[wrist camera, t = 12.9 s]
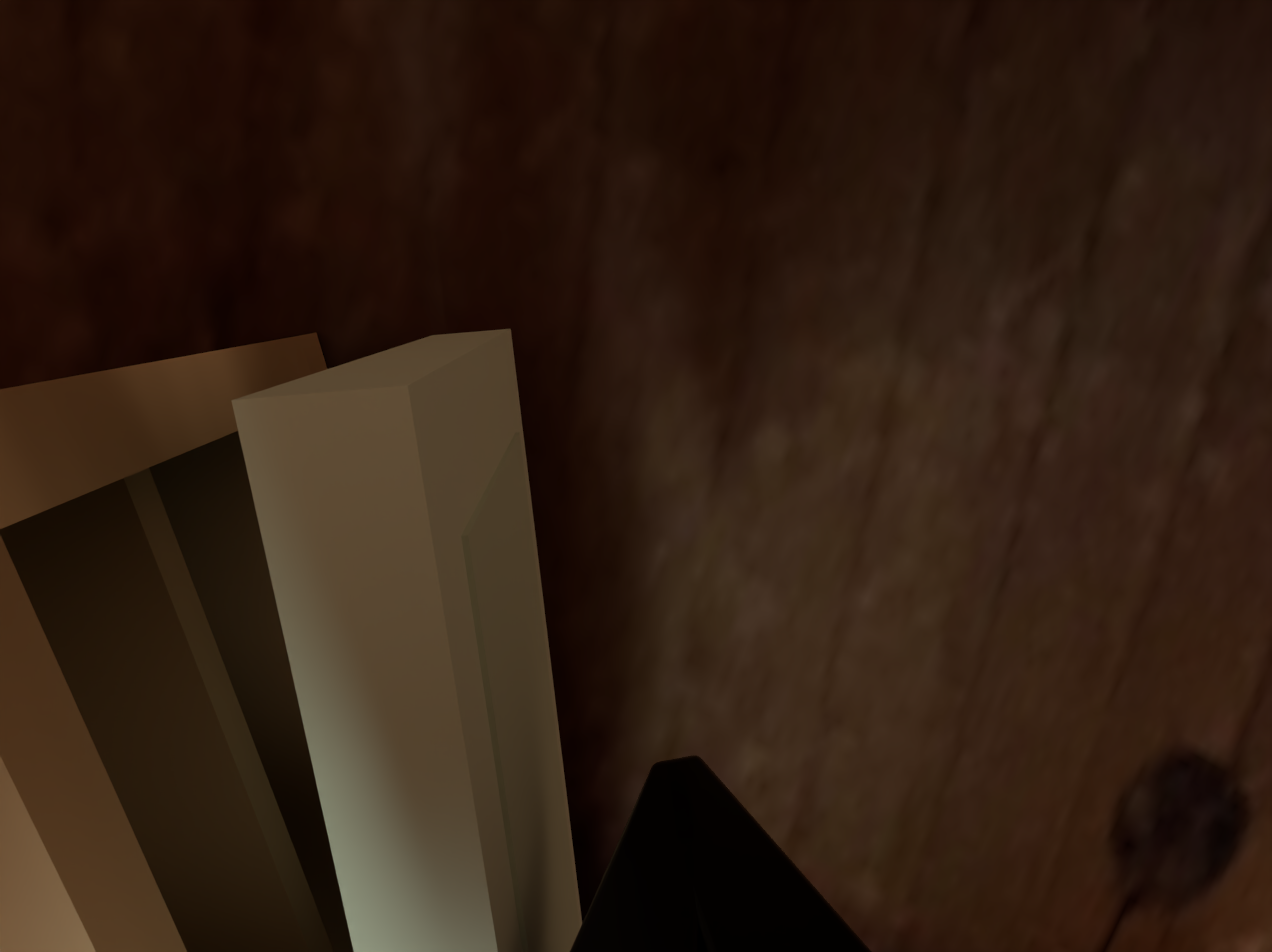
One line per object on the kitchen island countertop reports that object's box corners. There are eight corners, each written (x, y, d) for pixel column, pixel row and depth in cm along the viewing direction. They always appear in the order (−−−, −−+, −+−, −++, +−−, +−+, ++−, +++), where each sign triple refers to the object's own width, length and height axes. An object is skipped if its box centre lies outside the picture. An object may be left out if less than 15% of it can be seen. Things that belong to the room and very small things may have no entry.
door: (601, 1047, 13) (606, 1616, 7) (539, 1054, 13) (499, 1630, 7) (515, 327, 10) (413, 387, 4) (433, 334, 10) (222, 404, 4)
